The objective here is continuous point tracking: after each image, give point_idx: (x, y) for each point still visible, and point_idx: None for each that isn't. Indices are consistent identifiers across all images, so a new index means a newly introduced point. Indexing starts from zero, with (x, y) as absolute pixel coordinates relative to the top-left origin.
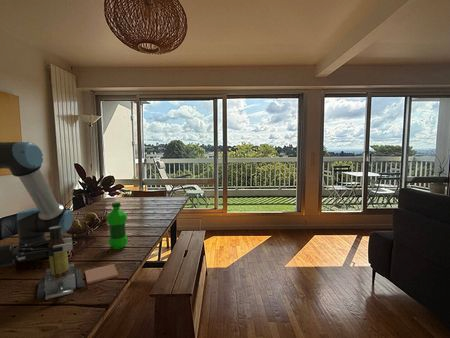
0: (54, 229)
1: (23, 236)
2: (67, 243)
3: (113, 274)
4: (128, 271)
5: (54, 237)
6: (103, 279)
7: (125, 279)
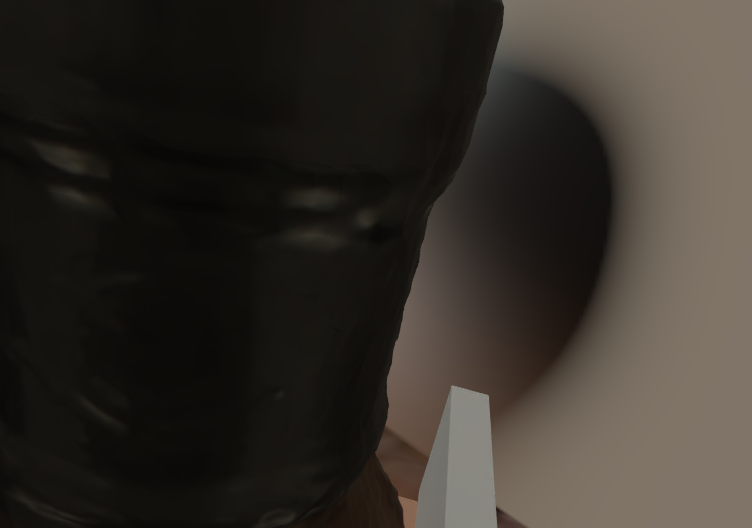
0: (495, 42)
1: None
2: (459, 438)
3: (407, 524)
4: (391, 456)
5: (380, 411)
6: None
7: (497, 514)
